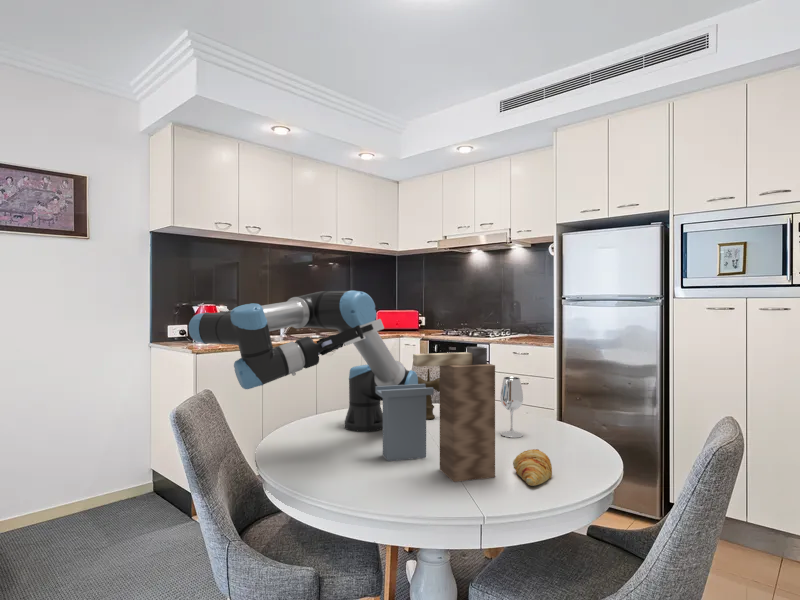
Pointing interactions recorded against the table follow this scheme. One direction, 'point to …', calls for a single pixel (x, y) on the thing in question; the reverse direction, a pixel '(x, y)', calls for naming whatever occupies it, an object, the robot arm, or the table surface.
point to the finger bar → (452, 358)
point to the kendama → (429, 405)
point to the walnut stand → (467, 421)
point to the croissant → (533, 467)
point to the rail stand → (404, 420)
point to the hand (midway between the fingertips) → (372, 329)
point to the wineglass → (511, 401)
